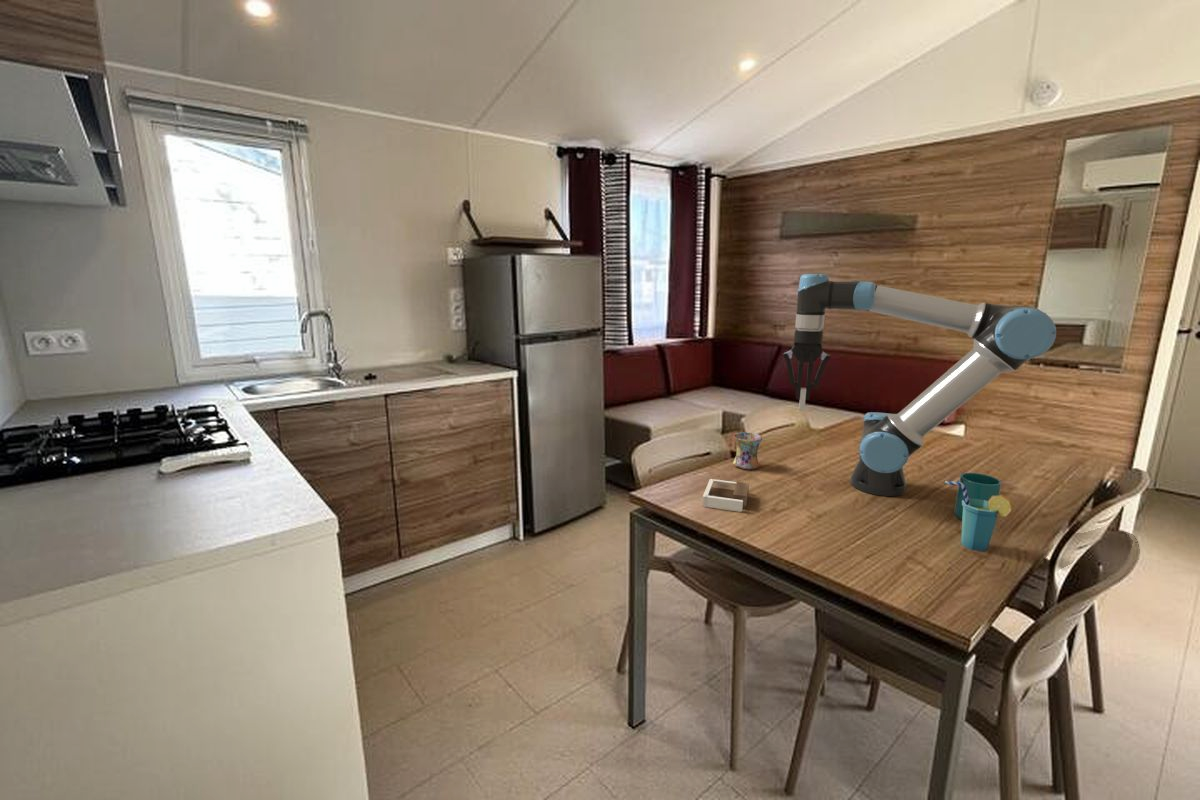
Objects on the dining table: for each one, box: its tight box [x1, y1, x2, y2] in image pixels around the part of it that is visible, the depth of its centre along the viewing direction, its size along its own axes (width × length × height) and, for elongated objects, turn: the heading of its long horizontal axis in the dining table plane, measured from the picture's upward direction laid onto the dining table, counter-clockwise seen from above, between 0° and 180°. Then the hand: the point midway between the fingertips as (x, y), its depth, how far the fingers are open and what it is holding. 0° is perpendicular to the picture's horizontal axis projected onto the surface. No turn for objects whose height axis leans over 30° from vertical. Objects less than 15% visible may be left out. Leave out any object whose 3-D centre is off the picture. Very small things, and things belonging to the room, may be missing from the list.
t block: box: [711, 481, 750, 511], centre depth 156 cm, size 10×10×4 cm
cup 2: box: [944, 480, 1014, 552], centre depth 129 cm, size 14×8×15 cm, turn 47°
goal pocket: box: [701, 478, 743, 513], centre depth 156 cm, size 11×14×3 cm
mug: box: [732, 432, 763, 470], centre depth 184 cm, size 12×9×11 cm
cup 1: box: [953, 472, 1002, 520], centre depth 145 cm, size 9×12×11 cm
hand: (801, 410), depth 160 cm, fingers closed
